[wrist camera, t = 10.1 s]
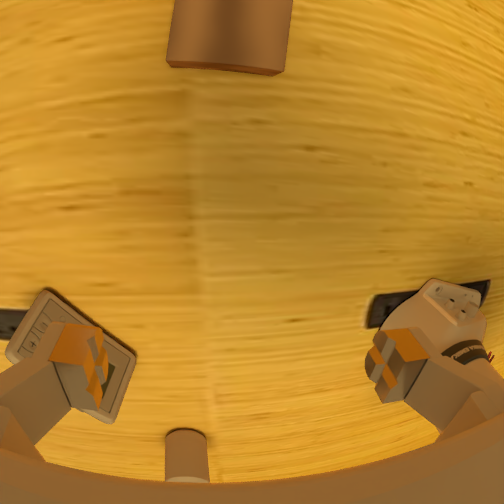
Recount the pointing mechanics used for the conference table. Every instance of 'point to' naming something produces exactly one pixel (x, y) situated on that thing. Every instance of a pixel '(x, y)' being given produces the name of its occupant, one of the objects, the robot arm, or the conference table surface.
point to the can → (186, 457)
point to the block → (230, 35)
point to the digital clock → (56, 310)
